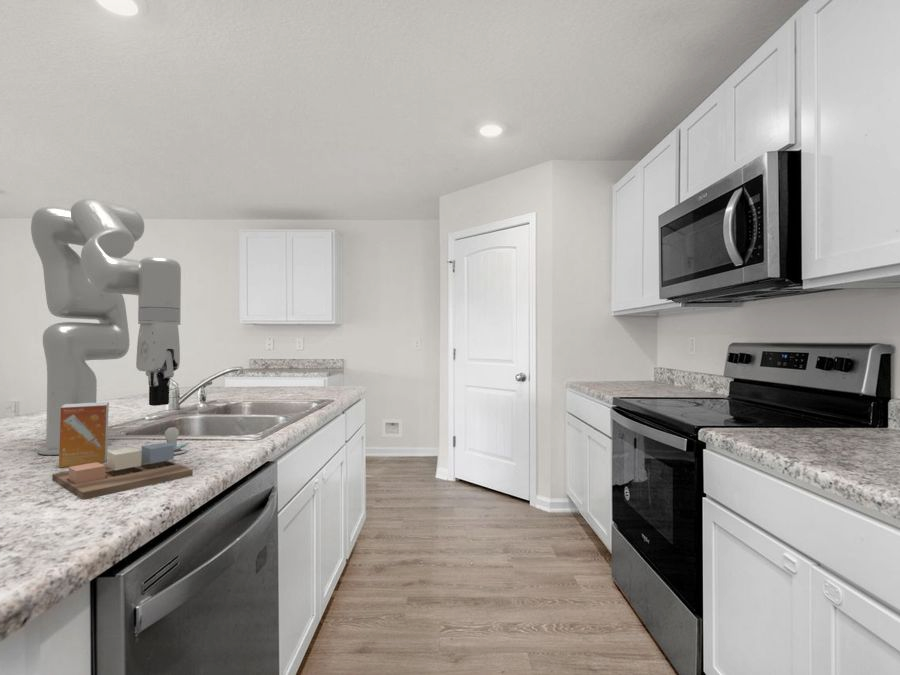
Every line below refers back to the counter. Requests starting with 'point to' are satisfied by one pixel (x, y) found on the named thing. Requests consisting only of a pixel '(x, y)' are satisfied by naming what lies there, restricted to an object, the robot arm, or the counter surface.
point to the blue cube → (157, 452)
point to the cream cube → (123, 458)
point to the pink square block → (86, 473)
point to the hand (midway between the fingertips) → (159, 404)
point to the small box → (83, 433)
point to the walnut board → (124, 478)
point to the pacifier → (174, 440)
